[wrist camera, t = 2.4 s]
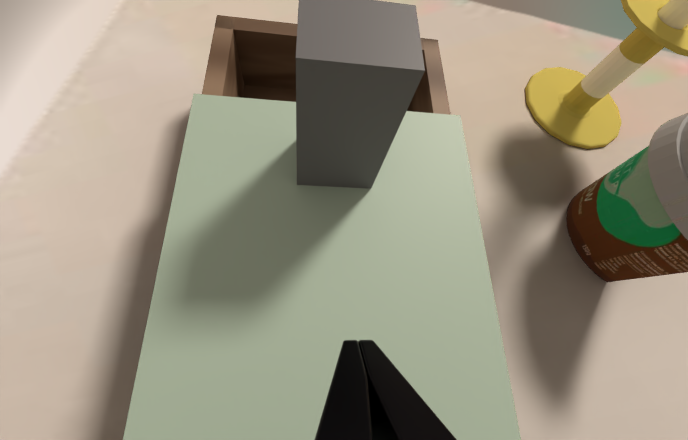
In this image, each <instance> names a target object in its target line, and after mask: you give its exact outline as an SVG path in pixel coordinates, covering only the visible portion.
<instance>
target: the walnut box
mask: <svg viewBox="0 0 688 440" xmlns="http://www.w3.org/2000/svg"><path fill="white" fill-rule="evenodd" d="M297 26H298V24H291V23H283V22H274V21H265V20H256V19H247V18H238V17H229V16H220V15H217V18H216V23H215V29H214V34H213V39H212V44H211V49H210V55H209V60H208V65H207V70H206V75H205V80H204V86H203V91H202V94H204V95H216V96H228V97H240V98H253V99H265V100H277V101H289V102H296V43H297ZM420 40H421V46H422V53H423V60H424V67H425V72H424V74H423V76H422V78H421V80H420V83H419V85H418V87H417V89H416V91H415V94H414V96H413V98H412V100H411V102H410V105H409V107H408V109H407V111H412V112H424V113H436V114H448V115H451V114H450V109H449V103H448V97H447V91H446V86H445V80H444V74H443V68H442V62H441V57H440V51H439V45H438V40H434V39H425V38H420Z"/></svg>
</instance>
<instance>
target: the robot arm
mask: <svg viewBox="0 0 688 440" xmlns="http://www.w3.org/2000/svg"><path fill="white" fill-rule="evenodd" d="M315 440H457V439H456V438H455V437H454V436H453V435H452V433H451V432H450V431H449V430H448V429H447V427H446V426H445V425H444V424H443V423H442V421H441V420H440V419H439V418H438V417H437V416H436V414H435V413H434V412H433V411H432V410H431V408H430V407H429V406H428V405H427V404H426V402H425V401H424V400H423V399H422V398H421V396H420V395H419V394H418V393H417V392H416V391H415V389H414V388H413V387H412V386H411V385H410V383H409V382H408V381H407V380H406V379H405V377H404V376H403V375H402V374H401V373H400V371H399V370H398V369H397V368H396V367H395V366H394V364H393V363H392V362H391V361H390V360H389V358H388V357H387V356H386V355H385V354H384V352H383V351H382V350H381V349H380V348H379V347H378V345H377V344H376V343H375V342H374V341H373V340H359V341H357V340H344V341H343V344H342V347H341V351H340V354H339V357H338V361H337V364H336V368H335V371H334V375H333V378H332V381H331V385H330V388H329V392H328V395H327V399H326V402H325V405H324V409H323V412H322V416H321V419H320V422H319V426H318V429H317V433H316V436H315Z"/></svg>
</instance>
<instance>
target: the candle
mask: <svg viewBox="0 0 688 440" xmlns="http://www.w3.org/2000/svg"><path fill="white" fill-rule="evenodd" d="M621 2H622V5H623V9H624V11H625V13H626V14H627V15H628V17H629V18H630V19H631V21H632V22H633V23H634V25H635V26H636V27H637V28H636V29H635V30H634V31H633V32H632V33H631V34H630V35H629V36H628V37H627V38H626V39H625V40H624V41H623V42H622V43H620V44H619V45H618V46H617V47H616V48H615V49H614V50H613V51H612V52H611V53H610V54H609V55H608V56H607V57H606V58H605V59H604V60H603V61H601V62H600V63H599V64H598V65H597V66H596V67H595V68H594V69H593V70H592V71H591V72H590V73H589V74H588V75H587V76H585V75H583V74H581V73H580V72H578V71H574V70H570V69H566V68H561V67H557V68H545V69H543V70H541V71H540V72H538V73H536V74H535V75H533V76H532V77H531V78H530V80H529V82H528V84H527V86H526V88H525V92H526V104H527V106H528V108H529V109H530V111H531V113H532V115H533V117H534V119H535V120H536V121H537V122H538V123H539V124H540V125H541V126H542V127H543V128H544V129H545V130H546V131H547V132H548V133H549V134H550V135H552V136H554V137H556V138H557V139H559V140H561V141H563V142H565V143H566V144H568V145H572V146H576V147H581V148H585V149H592V148H598V147H604V146H606V145H607V144H609V143H610V142H611V141H612V140H614V139H615V138H616V137H617V136H618V133H619V129H620V126H621V119H620V114H619V110H618V107H617V105H616V104H615V102H614V101H613V99H612V98H611V96H610V95H609V92H610V91H612V90H613V89H614V88H615V87H617V86H618V85H619V84H620V83H621V82H623V81H624V80H625V79H626V78H627V77H629V76H630V75H631V74H632V73H634V72H635V71H636V70H637V69H638V68H640V67H641V66H642V65H643V64H644V63H646V62H647V61H648V60H649V59H651V58H652V57H653V56H654V55H655V54H657V53H658V52H659V51H660V50H661V49H663V48H664V47H665V48H667V49H670V50H671V51H673V52H675V53H677V54H680V55H684V56H688V0H621Z"/></svg>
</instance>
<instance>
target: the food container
mask: <svg viewBox="0 0 688 440" xmlns="http://www.w3.org/2000/svg"><path fill="white" fill-rule="evenodd" d="M566 219H567V228H568V232H569V236H570V238H571V241H572V243H573V245H574V247H575V249H576V251H577V253H578V254H579V255H580V257H581V258H582V260H583V261H584V262H585V263H586V264H587V266H588V267H589V268H590V269H591V270H592V271H593V272H594V273H595V274H597V275H598V276H599V277H600V278H602V279H603V280H604V281H606V282H612V281H620V280H628V279H636V278H644V277H652V276H660V275H667V274H675V273H683V272H688V113H686V114H684V115H681V116H679V117H676V118H674V119H671V120H669V121H667V122H666V123H664V124H663V125H661V126H660V127H659V128H658V129H657V131H656V132H655V133H654V135H653V137H652V139H651V141H650V145H649V146H648V147H646V148H645V149H643V150H642V151H640V152H639V153H637V154H636V155H634V156H633V157H631V158H630V159H628V160H627V161H625V162H624V163H622V164H621V165H619V166H618V167H616V168H615V169H613V170H612V171H610V172H609V173H607V174H606V175H604V176H603V177H601V178H600V179H598V180H597V181H595V182H594V183H592V184H591V185H589V186H588V187H586V188H585V189H583V190H582V191H580V192H579V193H578V194H577V195H576V196H575V197H574V198H573V199H572V200H571V202H570V204H569V207H568V210H567V217H566Z"/></svg>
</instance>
